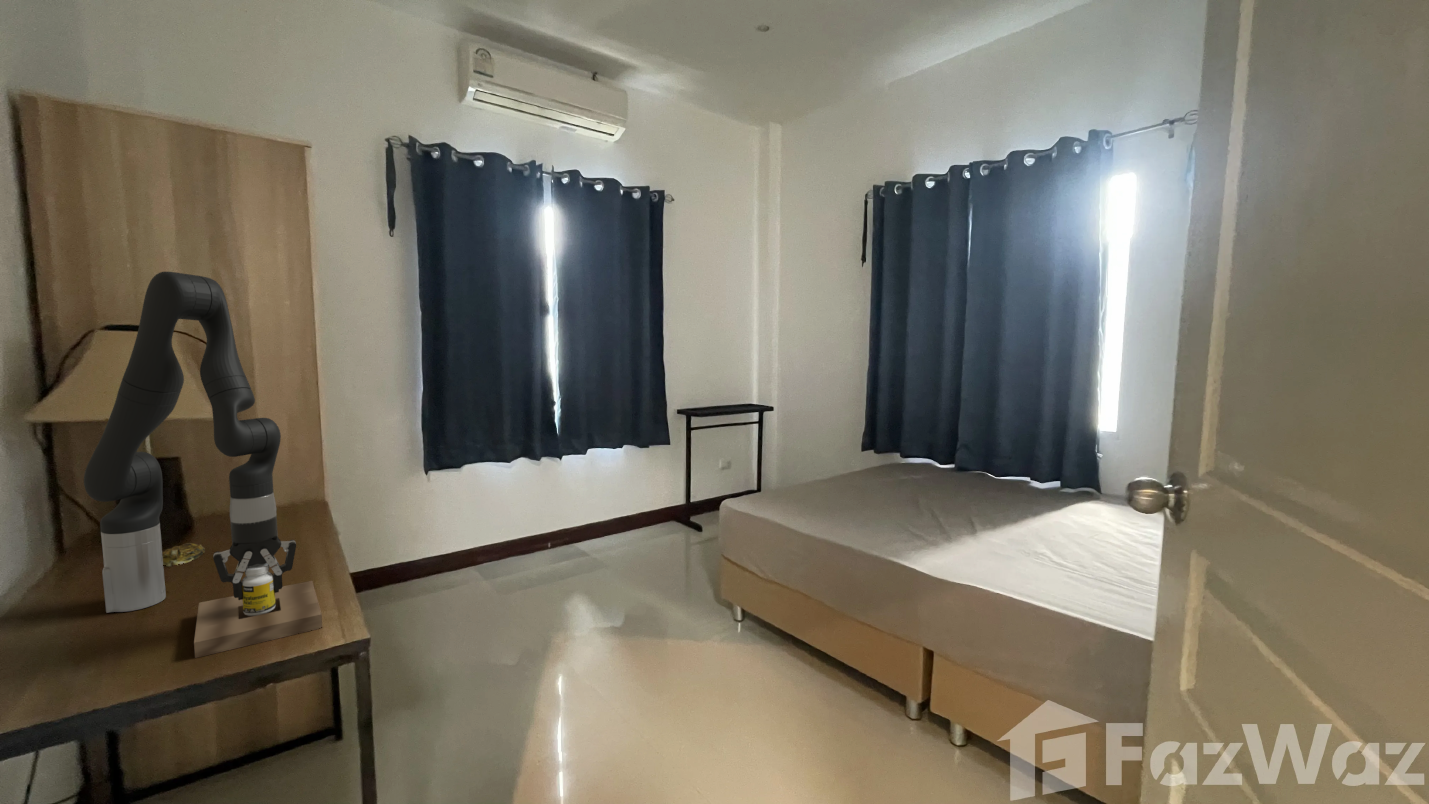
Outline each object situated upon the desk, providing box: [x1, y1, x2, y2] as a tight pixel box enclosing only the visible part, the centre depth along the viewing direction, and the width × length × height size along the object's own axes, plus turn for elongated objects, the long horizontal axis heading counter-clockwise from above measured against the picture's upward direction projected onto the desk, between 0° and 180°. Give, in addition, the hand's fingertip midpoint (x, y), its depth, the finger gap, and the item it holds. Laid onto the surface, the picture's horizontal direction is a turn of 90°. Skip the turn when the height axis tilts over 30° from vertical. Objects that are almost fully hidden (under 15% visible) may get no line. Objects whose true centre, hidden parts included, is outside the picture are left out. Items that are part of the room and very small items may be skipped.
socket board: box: [193, 580, 323, 659], centre depth 127 cm, size 20×20×3 cm
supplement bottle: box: [241, 562, 275, 616], centre depth 126 cm, size 5×5×10 cm
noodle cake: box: [162, 542, 206, 567], centre depth 160 cm, size 9×5×15 cm
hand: (258, 594), depth 126 cm, fingers closed on supplement bottle, 5 cm apart
